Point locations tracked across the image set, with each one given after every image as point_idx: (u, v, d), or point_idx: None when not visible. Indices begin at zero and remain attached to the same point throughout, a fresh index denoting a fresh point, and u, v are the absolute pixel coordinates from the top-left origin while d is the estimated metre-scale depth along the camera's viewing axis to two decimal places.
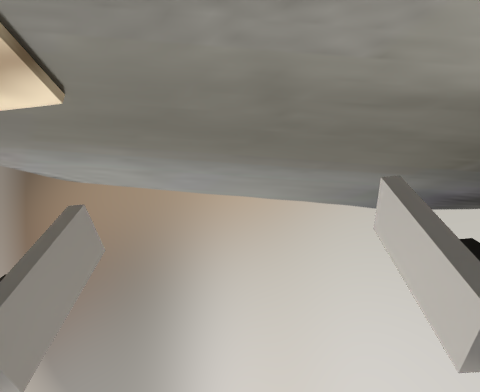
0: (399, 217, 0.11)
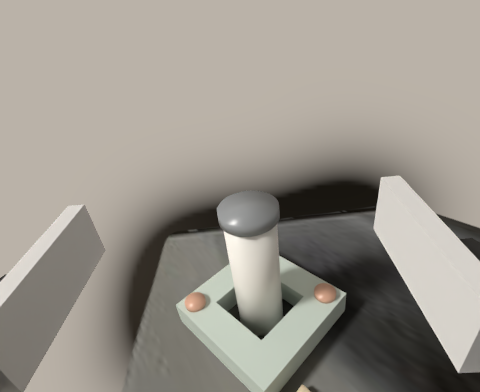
0: (399, 217, 0.11)
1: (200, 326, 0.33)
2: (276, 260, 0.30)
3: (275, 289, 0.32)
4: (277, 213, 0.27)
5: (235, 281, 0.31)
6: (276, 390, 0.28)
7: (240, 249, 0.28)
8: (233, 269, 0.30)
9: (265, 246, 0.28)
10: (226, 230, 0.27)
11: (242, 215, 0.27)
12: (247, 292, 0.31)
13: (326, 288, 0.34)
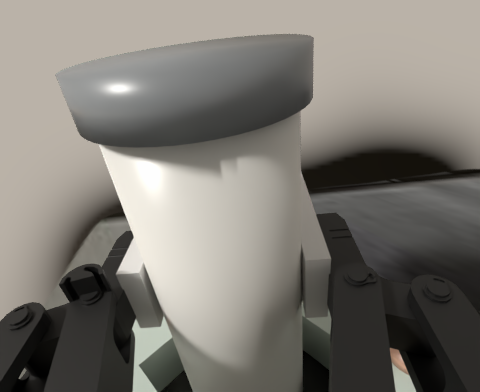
0: None
1: None
2: (295, 262, 0.09)
3: (289, 349, 0.10)
4: (309, 56, 0.06)
5: (168, 325, 0.10)
6: None
7: (152, 215, 0.07)
8: (155, 291, 0.09)
9: (255, 203, 0.07)
10: (82, 127, 0.06)
11: (154, 62, 0.06)
12: (203, 362, 0.10)
13: None
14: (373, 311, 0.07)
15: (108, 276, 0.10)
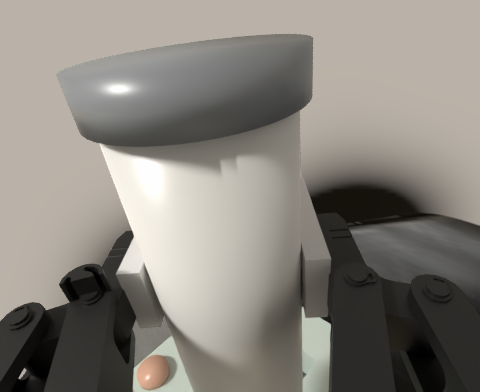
0: None
1: None
2: (294, 261, 0.09)
3: (289, 348, 0.11)
4: (309, 55, 0.06)
5: (168, 324, 0.10)
6: None
7: (152, 214, 0.07)
8: (155, 290, 0.09)
9: (255, 202, 0.07)
10: (82, 127, 0.06)
11: (155, 62, 0.06)
12: (203, 361, 0.10)
13: None
14: (373, 311, 0.07)
15: (108, 276, 0.10)
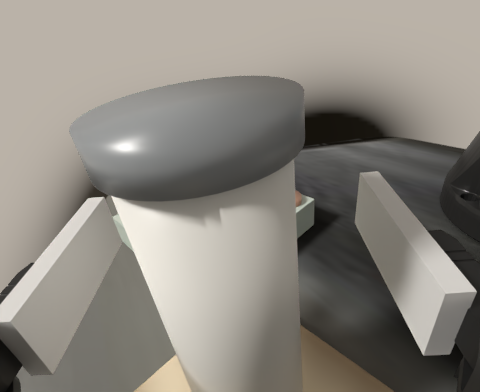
0: (375, 210, 0.12)
1: None
2: (291, 288, 0.10)
3: (288, 367, 0.11)
4: (300, 110, 0.07)
5: (173, 346, 0.11)
6: None
7: (158, 254, 0.07)
8: (160, 315, 0.10)
9: (252, 242, 0.07)
10: (94, 179, 0.07)
11: (159, 118, 0.07)
12: (206, 382, 0.10)
13: None
14: None
15: None
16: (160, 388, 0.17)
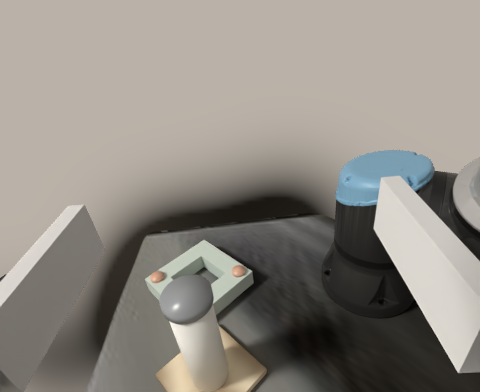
0: (399, 217, 0.11)
1: (158, 291, 0.53)
2: (213, 335, 0.35)
3: (215, 356, 0.37)
4: (209, 302, 0.32)
5: None
6: None
7: (178, 331, 0.33)
8: None
9: (199, 328, 0.33)
10: (166, 317, 0.32)
11: (179, 304, 0.32)
12: (190, 361, 0.36)
13: (240, 268, 0.54)
14: None
15: None
16: (174, 366, 0.43)
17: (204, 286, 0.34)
